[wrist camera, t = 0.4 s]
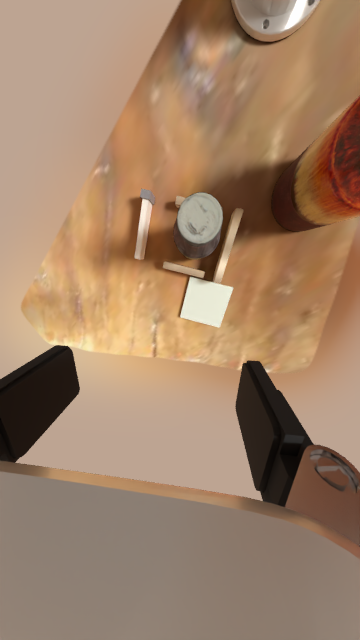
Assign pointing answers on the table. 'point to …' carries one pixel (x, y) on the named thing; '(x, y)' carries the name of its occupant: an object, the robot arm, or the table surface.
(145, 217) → the bar
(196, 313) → the tile
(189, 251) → the sauce bottle
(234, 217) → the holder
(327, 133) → the vase
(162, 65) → the table surface
